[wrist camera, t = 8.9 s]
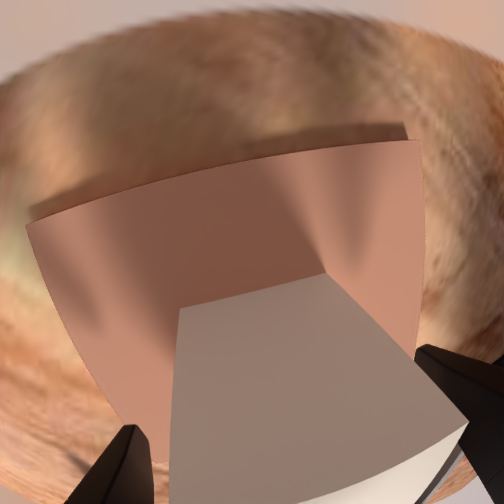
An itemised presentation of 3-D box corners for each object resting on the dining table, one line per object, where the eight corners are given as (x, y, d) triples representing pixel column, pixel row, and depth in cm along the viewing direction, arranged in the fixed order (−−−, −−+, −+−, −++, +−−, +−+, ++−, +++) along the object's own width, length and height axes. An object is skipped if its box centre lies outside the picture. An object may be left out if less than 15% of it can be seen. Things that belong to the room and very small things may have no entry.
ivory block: (326, 272, 10) (468, 421, 3) (332, 377, 11) (409, 509, 5) (179, 308, 9) (169, 521, 3) (218, 407, 11) (241, 562, 4)
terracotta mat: (409, 139, 9) (419, 139, 9) (400, 389, 14) (405, 396, 13) (33, 221, 8) (25, 225, 8) (156, 454, 12) (155, 462, 12)
